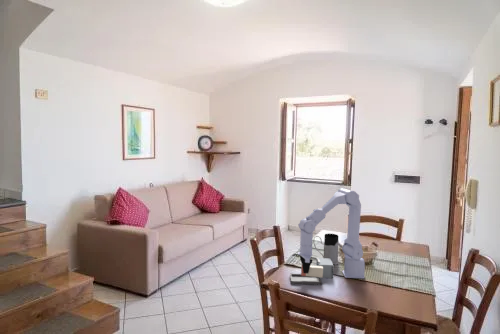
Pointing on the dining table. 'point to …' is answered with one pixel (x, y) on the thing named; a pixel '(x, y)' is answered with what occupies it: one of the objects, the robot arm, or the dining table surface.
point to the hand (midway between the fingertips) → (305, 271)
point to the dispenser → (326, 267)
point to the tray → (304, 280)
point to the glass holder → (330, 247)
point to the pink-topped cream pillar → (313, 271)
